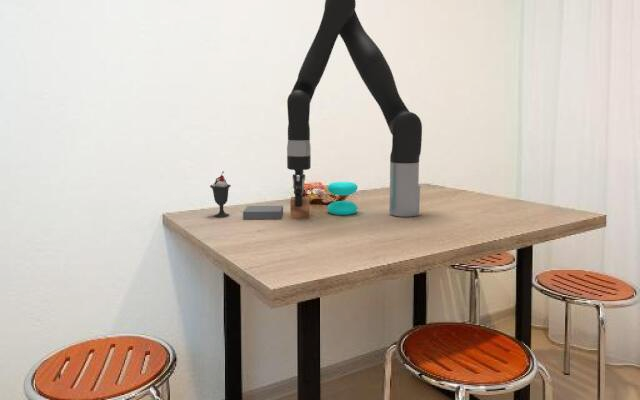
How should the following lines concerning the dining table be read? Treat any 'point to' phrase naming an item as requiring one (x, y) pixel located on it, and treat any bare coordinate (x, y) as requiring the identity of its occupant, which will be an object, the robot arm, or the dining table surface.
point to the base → (262, 212)
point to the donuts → (342, 206)
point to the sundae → (220, 194)
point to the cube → (300, 208)
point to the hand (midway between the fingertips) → (299, 204)
